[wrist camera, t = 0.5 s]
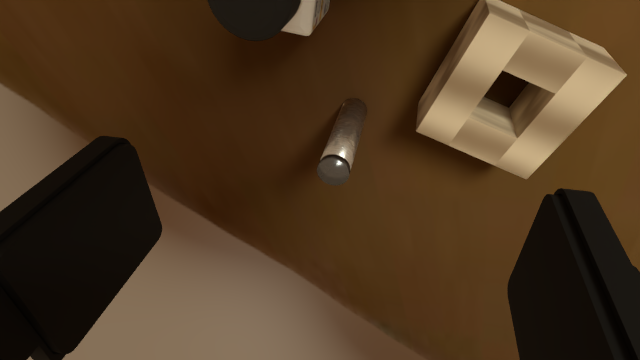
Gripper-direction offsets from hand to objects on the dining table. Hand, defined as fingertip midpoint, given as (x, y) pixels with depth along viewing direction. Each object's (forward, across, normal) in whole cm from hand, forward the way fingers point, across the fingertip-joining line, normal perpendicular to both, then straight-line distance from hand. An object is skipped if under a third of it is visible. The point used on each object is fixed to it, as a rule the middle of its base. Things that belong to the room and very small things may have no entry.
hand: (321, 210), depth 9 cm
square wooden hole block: (+34, -11, +10) cm, 37 cm away
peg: (+34, +4, +15) cm, 37 cm away
